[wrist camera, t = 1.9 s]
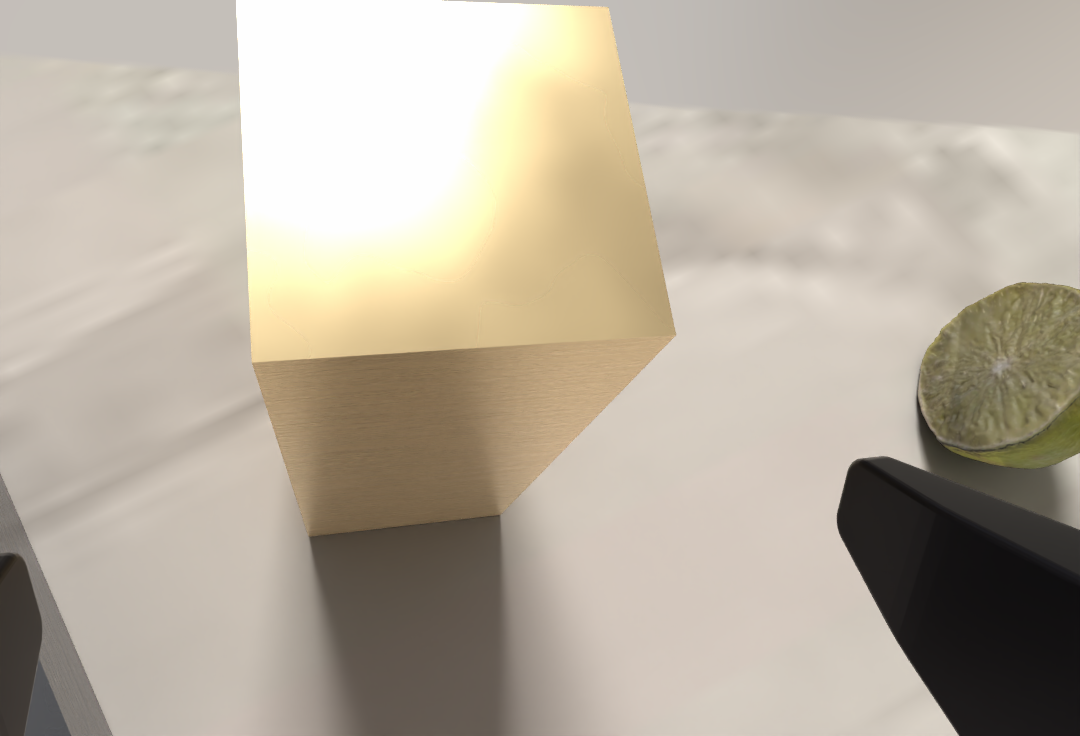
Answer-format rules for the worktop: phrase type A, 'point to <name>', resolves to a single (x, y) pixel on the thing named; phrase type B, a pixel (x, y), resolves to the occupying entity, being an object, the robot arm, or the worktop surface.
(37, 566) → the dark gray rack frame
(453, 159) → the brass post
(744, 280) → the worktop surface
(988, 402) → the lime
